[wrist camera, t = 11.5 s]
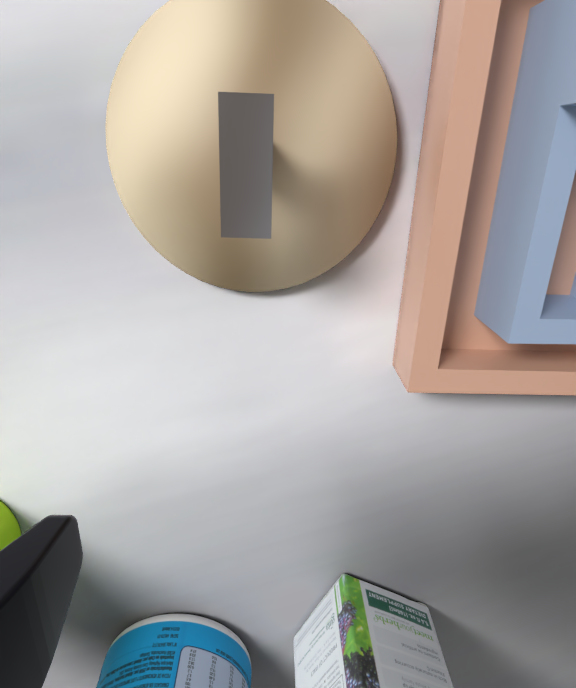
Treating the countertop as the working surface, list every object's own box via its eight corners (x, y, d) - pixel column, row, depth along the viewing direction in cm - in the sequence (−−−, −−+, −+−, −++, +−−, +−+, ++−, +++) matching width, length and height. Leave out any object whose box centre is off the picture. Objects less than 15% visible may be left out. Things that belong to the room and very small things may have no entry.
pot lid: (410, -11, 15) (468, -79, 11) (377, 290, 19) (409, 335, 14) (94, -27, 15) (14, -104, 10) (125, 284, 19) (77, 328, 14)
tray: (762, -60, 15) (852, -99, 13) (618, 369, 21) (662, 397, 18) (449, -78, 14) (483, -121, 12) (392, 364, 20) (407, 392, 18)
